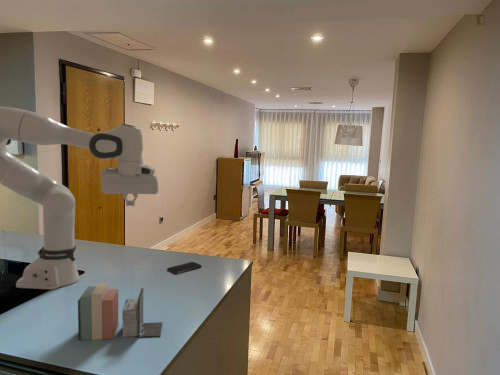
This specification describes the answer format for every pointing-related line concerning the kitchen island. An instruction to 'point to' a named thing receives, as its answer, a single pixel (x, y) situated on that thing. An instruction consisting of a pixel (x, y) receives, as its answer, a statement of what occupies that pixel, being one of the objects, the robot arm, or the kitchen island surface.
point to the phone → (184, 267)
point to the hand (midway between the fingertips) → (130, 205)
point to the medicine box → (130, 318)
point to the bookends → (143, 328)
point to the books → (99, 312)
